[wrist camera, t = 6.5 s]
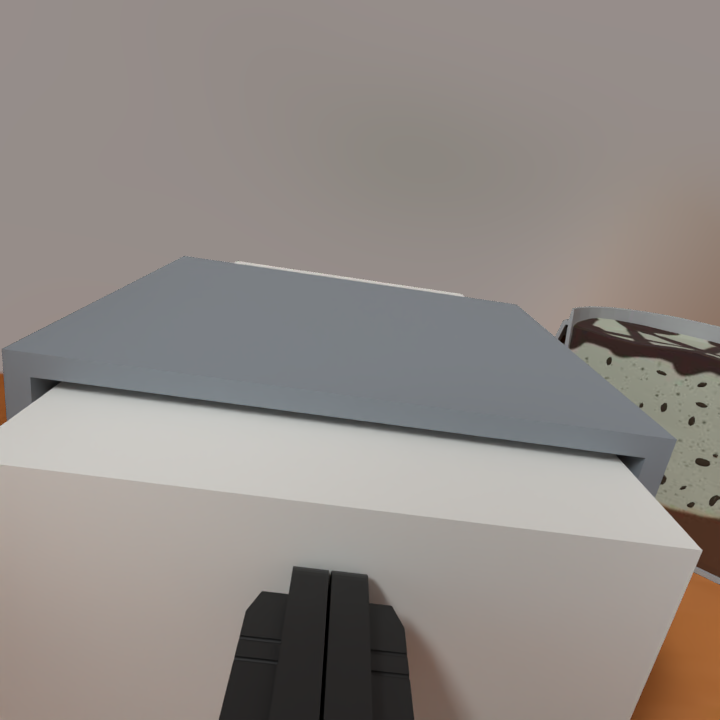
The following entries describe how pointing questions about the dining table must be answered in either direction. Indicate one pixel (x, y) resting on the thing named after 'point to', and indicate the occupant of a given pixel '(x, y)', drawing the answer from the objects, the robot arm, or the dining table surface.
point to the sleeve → (339, 358)
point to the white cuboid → (318, 556)
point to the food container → (666, 403)
